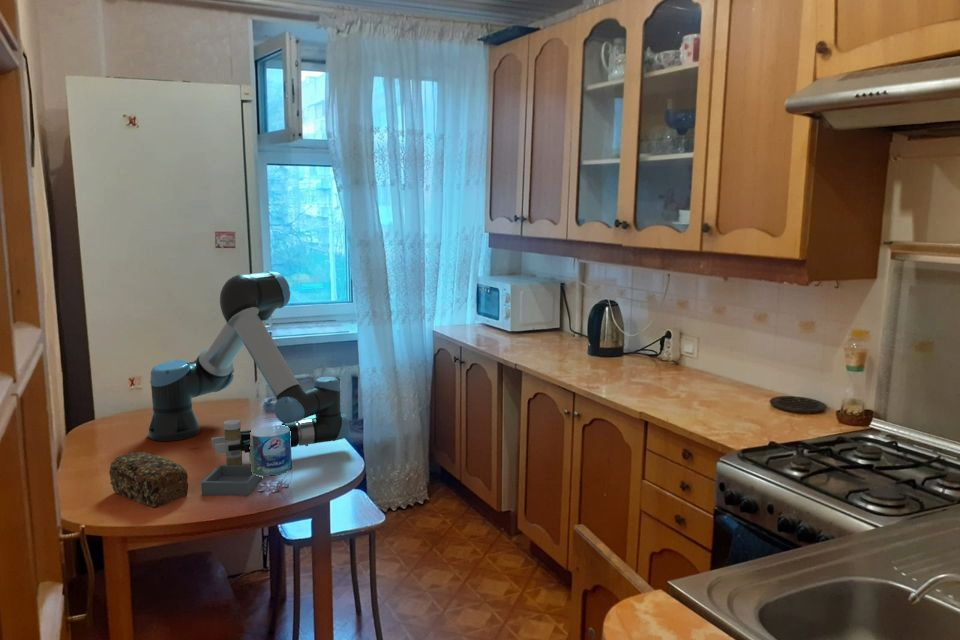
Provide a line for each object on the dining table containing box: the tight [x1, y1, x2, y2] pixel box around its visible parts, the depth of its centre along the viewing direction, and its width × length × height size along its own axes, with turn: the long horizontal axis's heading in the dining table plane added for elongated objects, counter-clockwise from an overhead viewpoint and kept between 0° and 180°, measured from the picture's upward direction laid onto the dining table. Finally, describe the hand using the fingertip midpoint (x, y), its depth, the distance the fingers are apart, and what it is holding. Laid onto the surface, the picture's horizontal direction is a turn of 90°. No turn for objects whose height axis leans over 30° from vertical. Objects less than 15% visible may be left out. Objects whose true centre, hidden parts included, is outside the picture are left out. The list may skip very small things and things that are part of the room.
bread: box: [108, 451, 189, 508], centre depth 180 cm, size 19×11×10 cm, turn 57°
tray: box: [200, 464, 263, 497], centre depth 185 cm, size 12×12×4 cm
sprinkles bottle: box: [223, 419, 244, 465], centre depth 199 cm, size 5×5×13 cm
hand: (213, 446), depth 196 cm, fingers open, 5 cm apart
